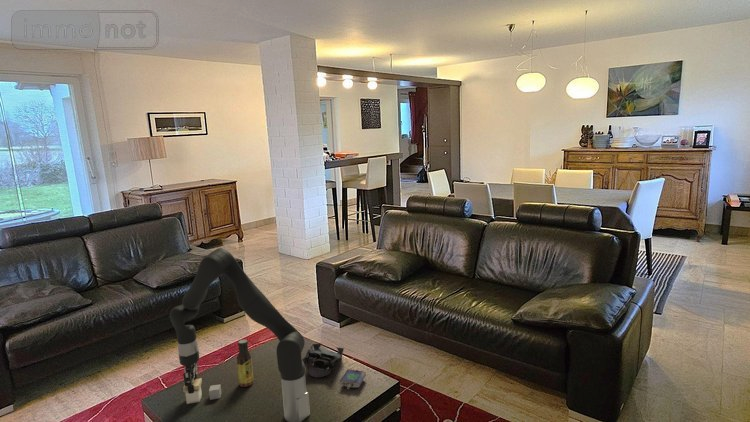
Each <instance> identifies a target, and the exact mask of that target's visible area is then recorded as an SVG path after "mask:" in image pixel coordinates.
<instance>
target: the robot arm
mask: <svg viewBox="0 0 750 422" xmlns="http://www.w3.org/2000/svg"><path fill="white" fill-rule="evenodd" d="M224 274H225V275H226V276H227V278H228V280H230V281H231V283H232V285H233V287H234V292H235V294H236V295H235V296H236V300H237V303H238V305H239V307H240V308H241V309H242V311H243V312H244V313H245V314H246V315H247V316H248V317H249V318H250V320H252V321H253V322H256V323H257V324H258V325H261V326H263V327H265V328H266V329H268V330H270V331H271V332H272V333H273V334H274V335H275V337H276V338H277V339H278V341H279V342H278V344H277V346H276V360H277V368H278V372H279V373H280V381H281V393H282V404H283V407H282V408H283V415H284V416H283V417H284V419H285V421H287V422H303V421H304V420H305V419H307V418H308V417H309V416H310V415H311V408H310V395H309V391H307V381H306V380H307V379H306V371H305V370H306V367H305V365H304V363H303V360H302V359H303V358H302V352H303V349H304V347H305V343H306V342H305V339H304V336H303V335H302V334H301V332H300V331H299V330H298V329H296V328H295V327H294V326H293V325H292V324H291V323H290V322H289V321H287V319H286V318H285V317H284V316H283V315H282V314H281V313H280V312H279V311H278V310H277V308H276V307H275V306H274V305H273V304H272V303H271V301H270V300H269V299H268V297H267V296H266V295H265V294H264V293H263V292H262V291H261V290H260V289H259V288H258V287H257V285H256V284H255V283H254V282H253V281H252V280H251V279H250V277H249V276H248V275H247V274H246V272H245V271H244V269H243V268H242V267H241V266H240V264H239V261H237V260H236V258H235V257H234V255H232V253H231V252H230V251H228V250H227V249H226V248H223V247H218V248H216V249H214V250H213V251H211V252H210V253H208V254H207V255H205V256H204V257H203V258H202V259H201V261H200V262H199V265H198V269H197V272H196V274H195V276H194V278H193V281H192V283H191V285H190V286H189V287H188V289H187V291H186V292H185V294H184V296H183V297H182V300H181V304H180V305H177V306H174V307H173V308H172V309H171V310H170V311H169V319H170V323H171V324H172V326H173V328H174V330H175V333H176V338H177V351H178V360H179V364H180V365H181V366H184V369H183V371H184V372H183V374H182V375H183V380H184V381H183V382H184V385H185V387H186V386H187V387H188V393H189V394H191V393H194V385H193V379H198V372H199V364H198V362H199V361H200V351H199V343H198V339H197V332H196V328H195V326H194V325H193V324H185V323H186V322H187V321H190V320H192V319H194V318H195V317H197V315H198V314H199V312H200V311H199V310H200V306H201V304H202V303H203V301H204V300H205V298H206V296H207V294H208V290H209V287H210V285H211V284H212V283H213V282H214V281H215V280H216V279H218V278H220V277H221V276H223V275H224ZM188 381H190V382H188Z"/></svg>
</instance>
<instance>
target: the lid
mask: <svg viewBox="0 0 750 422" xmlns="http://www.w3.org/2000/svg"><path fill="white" fill-rule="evenodd" d="M188 382H190V381H188ZM202 383H203V378H202V377H200V378H197V379H193V385H194V391H197V390H199V389H200V387H201V388H202ZM182 390H183V393H186V392H188V387H187V386H186V387H185V384H184V385H183V387H182Z"/></svg>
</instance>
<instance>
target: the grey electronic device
mask: <svg viewBox="0 0 750 422" xmlns="http://www.w3.org/2000/svg"><path fill="white" fill-rule="evenodd" d="M366 376H367V372H366V371H364V370H358V369H356V370H354V369H349V368H348V369H347V370H346V371H345V372H344V374H343V375H342V377H341V378H340V380H339V384H340V385H341V386H344V387H346V389H347V390H350V388H360V386H361V385H362V383H363V382H364V379H365V377H366Z"/></svg>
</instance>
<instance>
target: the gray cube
mask: <svg viewBox="0 0 750 422" xmlns="http://www.w3.org/2000/svg"><path fill="white" fill-rule="evenodd" d="M208 396H209V400H210V401H211V400H216V399H217V400H218V399H220V398H221V396H222V386H221V384H213V385H210V386H209V389H208Z"/></svg>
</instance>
